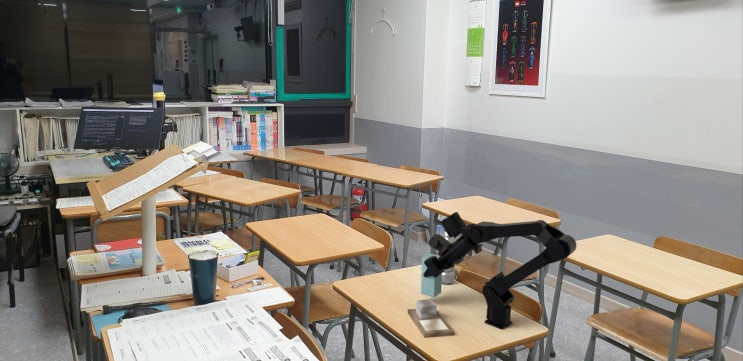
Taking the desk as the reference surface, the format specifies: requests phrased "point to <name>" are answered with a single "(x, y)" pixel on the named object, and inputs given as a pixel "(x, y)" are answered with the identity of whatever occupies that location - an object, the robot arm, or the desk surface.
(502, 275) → the robot arm
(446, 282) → the silver ribbed bottle
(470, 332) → the desk surface
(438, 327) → the base plate
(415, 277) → the desk surface
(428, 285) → the pillar block
